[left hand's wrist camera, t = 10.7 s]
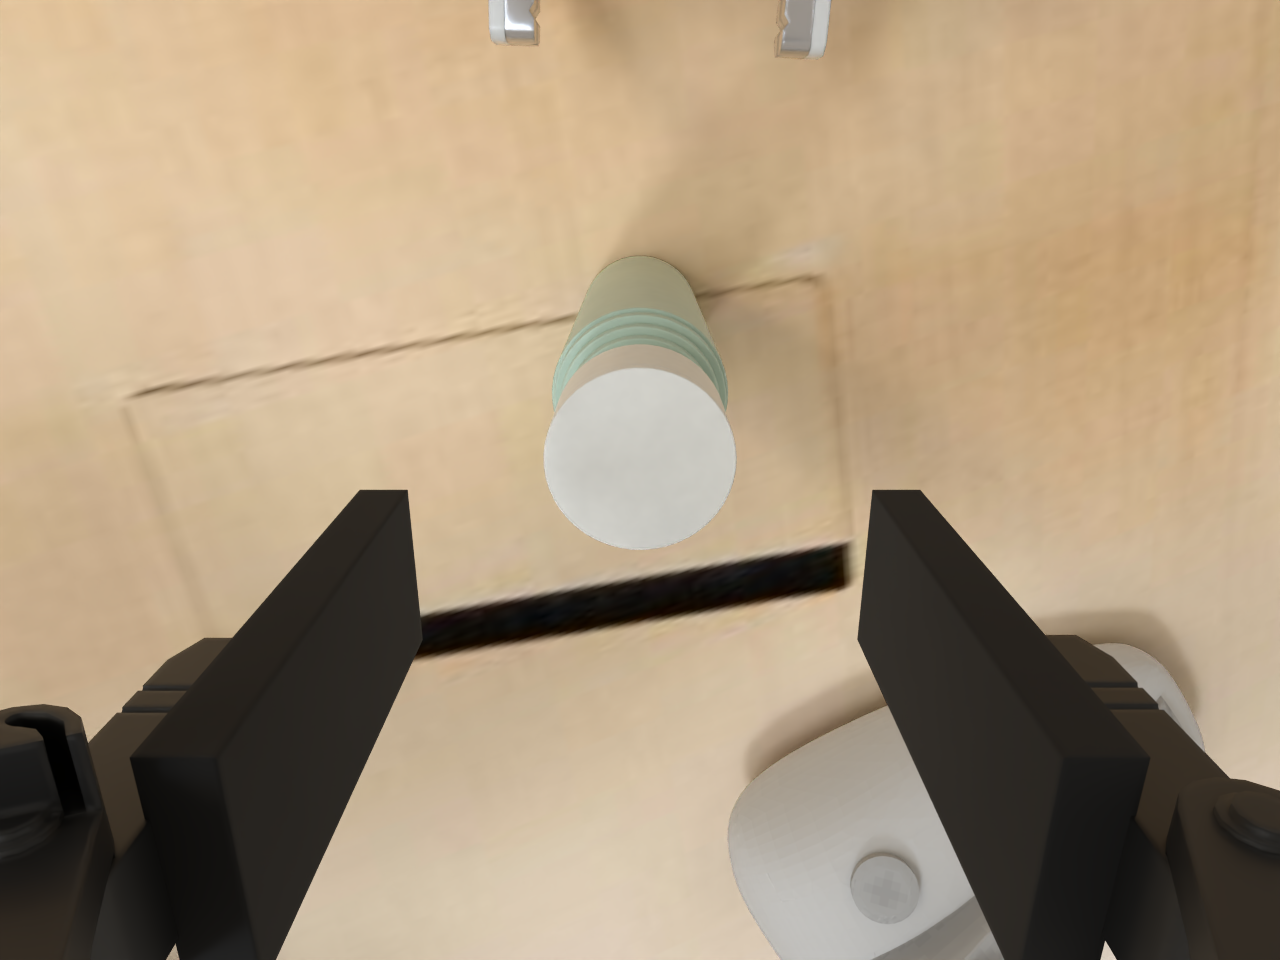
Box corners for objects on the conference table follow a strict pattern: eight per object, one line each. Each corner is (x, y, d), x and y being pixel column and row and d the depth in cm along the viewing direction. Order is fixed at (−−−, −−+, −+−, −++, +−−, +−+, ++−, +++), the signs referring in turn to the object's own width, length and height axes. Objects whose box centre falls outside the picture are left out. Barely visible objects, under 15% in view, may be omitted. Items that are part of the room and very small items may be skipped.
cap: (744, 364, 21) (759, 391, 18) (702, 522, 22) (710, 566, 20) (572, 326, 20) (563, 348, 18) (540, 489, 22) (528, 530, 19)
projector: (1068, 965, 51) (1227, 1262, 37) (688, 921, 50) (706, 1211, 36) (1209, 643, 43) (1474, 866, 30) (764, 582, 42) (825, 784, 28)
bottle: (708, 269, 37) (777, 373, 19) (682, 380, 39) (720, 575, 20) (595, 244, 37) (550, 324, 18) (573, 356, 38) (511, 534, 20)
